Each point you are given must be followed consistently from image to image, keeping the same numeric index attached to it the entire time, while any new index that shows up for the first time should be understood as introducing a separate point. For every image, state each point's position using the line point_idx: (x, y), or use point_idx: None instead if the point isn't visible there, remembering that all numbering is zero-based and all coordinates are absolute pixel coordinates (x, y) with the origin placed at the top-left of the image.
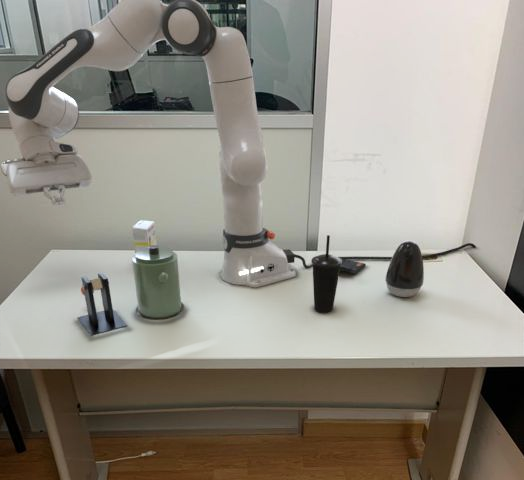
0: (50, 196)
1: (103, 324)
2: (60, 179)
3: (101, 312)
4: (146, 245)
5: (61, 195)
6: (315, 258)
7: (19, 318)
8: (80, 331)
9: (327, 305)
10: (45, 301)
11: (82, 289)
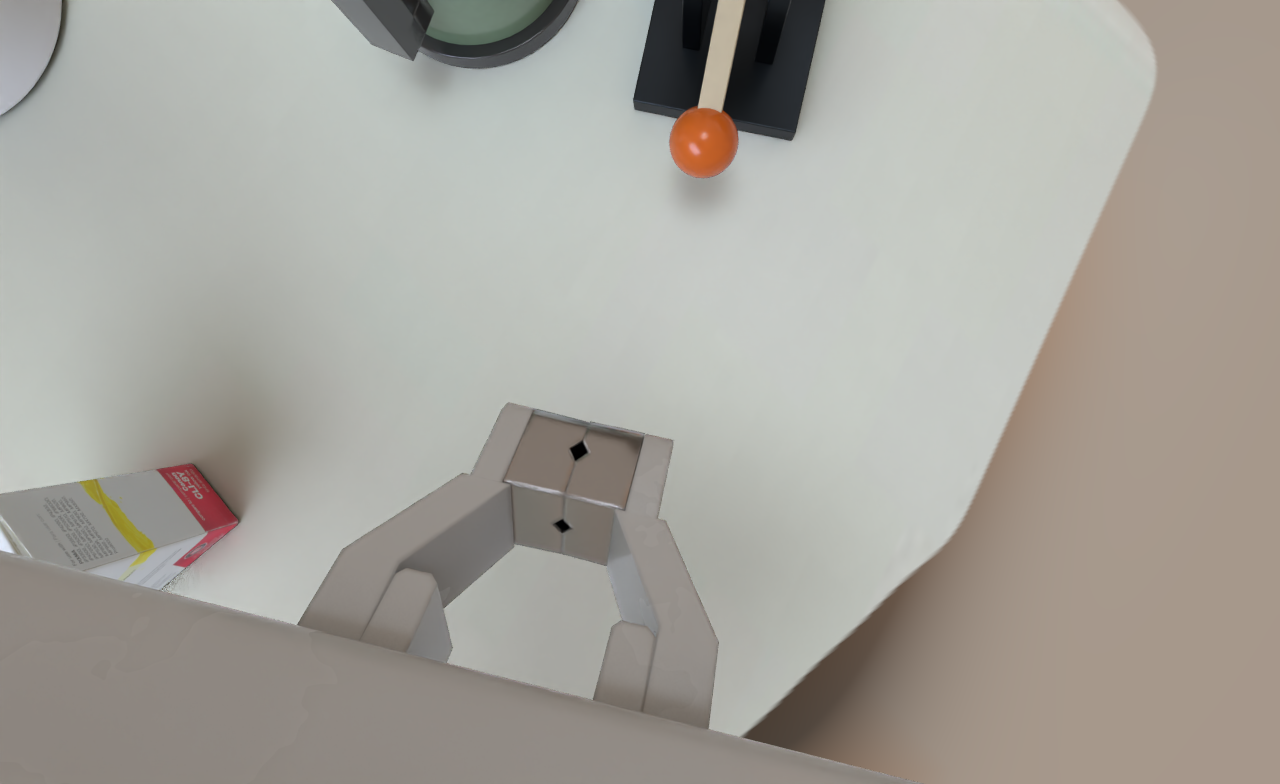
0: (665, 535)
1: None
2: (270, 700)
3: (690, 97)
4: (102, 486)
5: (501, 472)
6: None
7: (967, 360)
8: (832, 47)
9: None
10: (795, 445)
11: (735, 131)
